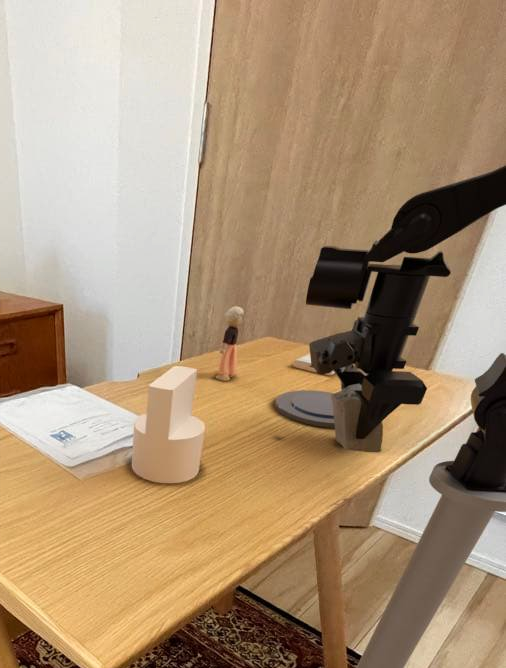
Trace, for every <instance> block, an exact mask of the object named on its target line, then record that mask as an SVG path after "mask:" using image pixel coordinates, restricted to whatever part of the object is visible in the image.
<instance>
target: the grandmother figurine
mask: <svg viewBox="0 0 506 668" xmlns="http://www.w3.org/2000/svg"><path fill="white" fill-rule="evenodd" d="M244 313H245V311H244V309H243V308H242V307H240V306H237V305H235V306H233V307H231V308H229V309H228V310H227V311H226V313H225V314H224V318H225V319H226V320H227V322H226V323H227V325H228V326H227V328H226V330H225V331H224V335H223V340H222V342H221V346H220V350H219V354H221V357H220V362H219V366H218V370H217V373H218V374H217V375H216V376H215V379H217V380H220V381H224V382H228V381H230V380H231V378H232V377H234V375H235V374H237V366H238V357H237V356H238V355H237V354H238V353H237V341H238V335H239V328H238V327H240V325H241V324H242V320H243V318H242V317H243V316H244Z"/></svg>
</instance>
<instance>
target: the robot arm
mask: <svg viewBox="0 0 506 668" xmlns="http://www.w3.org/2000/svg"><path fill="white" fill-rule="evenodd" d="M504 206H506V164H503V165H502V166H499V167H498V168H495V169H493V170H491V171H489V172H486V173H481V174H480V175H476V176H473V177H469V178H466V179H463V180H460V181H457V182H453V183H450V184H446V185H442V186H440V187H436V188H433V189H429V190H427V191H423V192H420V193H418V194H415V195H414V196H412V197H411V198H409V199H408V200H406V201H405V202H404V203H403V204H402V206H401V207H400V208H398V211H397V212H396V214H395V216H394V217H393V220H392V222H391V227H390V229H389V230H388V231H387V232H386V233H384V235H382V237H380V239H379V240H374V241H373V243H372V245H371V247H370V248H369V250H368V249H357V248H342V247H337V246H333V245H324V246H323V247H321V248H320V251H319V256H318V259H317V260H316V263H315V267H314V270H313V274H312V276H311V277H310V278H309V283H308V287H307V292H306V298H305V305H306V306H313V307H323V308H324V307H325V308H333V309H342V310H352V308H353V306H354V305H355V304H356V305H357V302H361V303H362V302H364V299H365V297H366V294H367V290H368V288H369V285H370V280H371V278H372V277H371V276H372V273H377V274H376V276H375V279H374V280H375V281H374V284H373V286H372V289H371V293H370V296H369V300H368V302H367V306H366V310H365V313H364V316H358V317H357V319H355V320H354V323H353V326H352V328H351V330H348V331H344V332H338V333H335V334H332V335H328V336H326V337H325V336H324V337H322V338H319V339H316V340H313V341H311V342H310V343H309V344H308V346H309V354H310V357H311V366H312V368H314V369H315V370H316V372H315V373H317V374H318V375H325V374H327V373H330V372H331V371H334V372H335V373H334V375H336V377H337V378H338V380H339V381H340V383H341V384H340V386H341V387H340V389H341V390H342V389H345V388H346V387H348V386H350V385H354V384H358V383H359V384H360V385H362V391H358V390H355V393H356V395H357V396H358V398H359V399H360V401H361V408H360V413H359V418H358V423H357V429H356V436H355V437H356V439H364V438H365V437H366V436H367V435H368V434H370V433H371V432H372V431H373V430H374V429H375V428H376V427H377V426H378V425H379V424H380V423H381V422H382V423H383V421H384V420H386V418H387V417H388V416H390V415H391V414H392V413H393V412H394V411H395V410H396V409H398V408H399V407H400V406H401V405H410V406H411V405H413V406H415V405H416V406H419V405H421V404H422V402H423V400H424V397H425V395H426V392H427V390H428V388H427V386H426V384H425V382H424V381H423V380H422V379H421V378H420V377H418V376H417V375H415V374H414V373H413V372H411V371H402V370H404V369H405V367H406V364H407V360H406V359H404V358H403V357H402V356H403V353H404V350H405V347H406V345H407V341H408V339H409V336H411V337H412V336H413V337H415V336H417V334H418V332H419V329H420V327H419V326H418V325H416V324H414V323H415V320H416V317H417V315H418V311H419V308H420V306H421V303H422V300H423V297H424V295H425V291H426V289H427V286H428V284H429V282H430V279H431V277H438V278H440V277H441V278H448V277H449V276H451V273H452V271H451V268H450V266H449V265H448V264H447V263H446V261H445V256H444V252H443V250H439V251H438V252H436V253H435V254H434V255H433V256H431V257H417V256H415V257H414V256H403V259H402V262H401V264H381V263H385V262H387V261H388V260H391V259H393V258H394V257H397V256H398V255H400V254H402V253H407V254H420V253H422V252H423V253H424V252H426V251H428V250H430V249H432V248H434V247H435V246H438V245H439V244H441V243H442V242H444V241H446V240H447V239H449V238H451V237H453V236H454V235H456V234H458V233H460V232H461V231H463V230H465V229H466V228H468V227H470V225H472V224H474V223H476V221H478V220H480V219H482V218H483V217H485V216H487V215H488V214H490V213H492V212H494V211H496V210H497V209H499V208H502V207H504ZM370 262H371V263H370ZM372 262H373V263H372ZM378 263H379V264H378ZM397 370H398V371H397ZM474 384H475V387H474V388H473V389H472V391H471V395H470V405H471V410H472V415H473V419H474V422H475V423H476V425H477V426H478V427H479V428H480V429H481V430H478V431H475V432H473V431H472V432H470V434H469V436H468V438H467V440H466V442H465V443H463V444H462V445H461V446H460V448H459V450H458V452H457V453H456V456H455V458H454V460H453V461H454V462H453V464H452V465H447V466H446V468H445V469H446V470H447V471H448V472H449V473H450V474H451V475H452V476H453V477H455V478H456V479H457V480H458V481H459V482H460V483H461V484H462V485H463V486H464V487H465V488H466V489H467V490H470V491H485V492H506V354H505V353H503V352H501V353H499V355H497V357H496V358H495V360H494V361H493V362H492V364H491V365H490V366H489V367H488V369H487V370H486V371H485V372H484V373H482V374H481V375H479V376H477V377H476V378H474ZM341 390H340V391H341Z"/></svg>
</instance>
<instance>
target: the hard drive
mask: <svg viewBox="0 0 506 668" xmlns="http://www.w3.org/2000/svg"><path fill="white" fill-rule="evenodd" d="M292 366H293V367H294V368H297V369H300V370H304V371H309V372H313V373H317V372H316V370H315V369H314V368H312V366H311V357H310V353H307V354H306V355H303V356H301V357H299V358H297V359H295V360H294V361H293V364H292ZM324 375H325V376H333V375H335V372H334V371H331V372H330V373H327V374H324Z"/></svg>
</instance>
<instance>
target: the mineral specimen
mask: <svg viewBox="0 0 506 668" xmlns="http://www.w3.org/2000/svg"><path fill="white" fill-rule="evenodd" d="M355 390H358V391H362V385H360V384H359V383H358V384H354V385H350V386H348V387H346V388H345V389H342V390H340V391H337V392H333V393H334V394H331V399H332V405H333V414H334V423H335V428H334V435H335V437H334V438H335V441H336V442H337V443H338V444H340V445H341V446H342V447H343V449H344V450H347V451H353V452H364V453H381V452H382V444H383V436H384V424H383V421H382V422H381V423H380V424H379V425H378V426H377V427H376V428H375V429H374V430H373V431H372V432H371V433H370V434H368V435H367V436H366V437H365V438H364V439H356V437H355V436H356V429H357V423H358V418H359V413H360V408H361V401H360V399H359V398H358V396H357V395H356V393H355Z"/></svg>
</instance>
